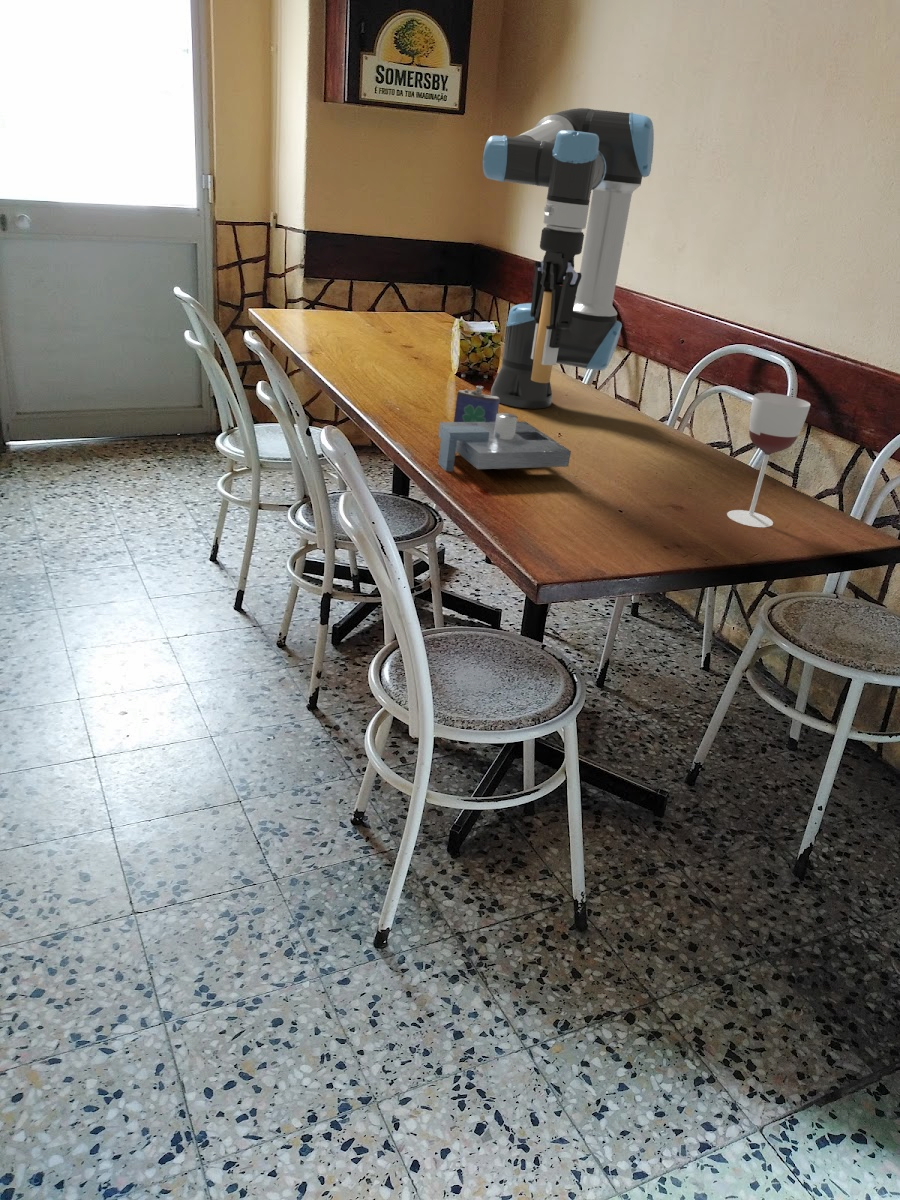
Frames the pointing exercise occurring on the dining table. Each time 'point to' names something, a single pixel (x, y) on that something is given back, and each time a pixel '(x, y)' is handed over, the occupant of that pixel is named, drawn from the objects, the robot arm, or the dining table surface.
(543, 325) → the light orange cylinder
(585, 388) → the dining table surface
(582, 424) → the dining table surface
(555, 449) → the grey plate
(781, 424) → the wineglass
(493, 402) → the flask
